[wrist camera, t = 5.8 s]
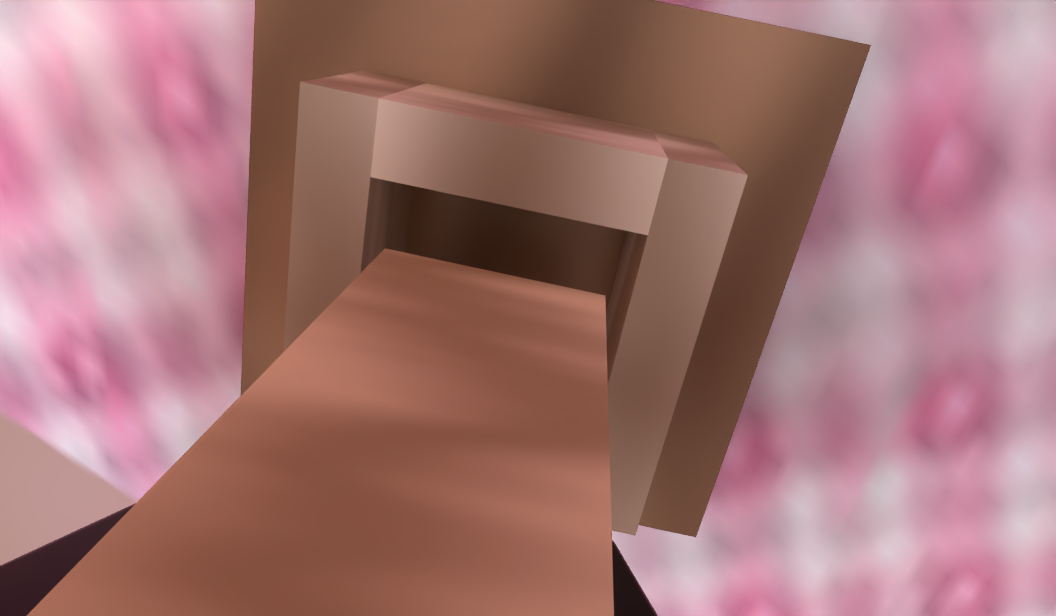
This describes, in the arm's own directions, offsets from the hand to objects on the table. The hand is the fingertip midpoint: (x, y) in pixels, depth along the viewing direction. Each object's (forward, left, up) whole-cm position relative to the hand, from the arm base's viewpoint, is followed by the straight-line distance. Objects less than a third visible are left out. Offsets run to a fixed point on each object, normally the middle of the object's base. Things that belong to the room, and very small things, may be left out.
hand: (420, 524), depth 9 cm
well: (0, 0, -11) cm, 11 cm away
